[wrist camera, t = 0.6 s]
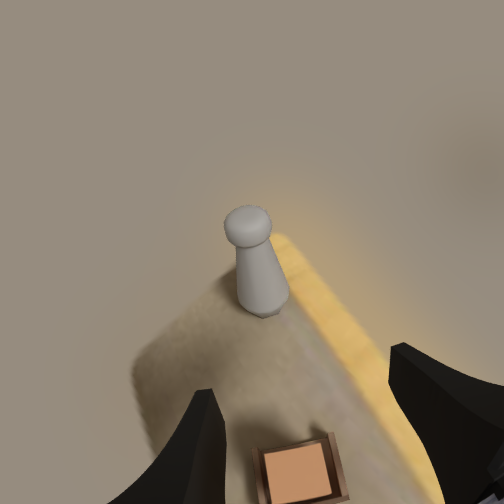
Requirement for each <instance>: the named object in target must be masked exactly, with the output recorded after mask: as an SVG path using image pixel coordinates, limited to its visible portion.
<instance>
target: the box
mask: <svg viewBox="0 0 504 504" xmlns="http://www.w3.org/2000/svg"><path fill="white" fill-rule="evenodd" d="M318 443H321V447H322V451H323V456H324V460H325V465H326V469H327V474H328V478H329V483H330V488H331V492H332V493H331V494H329V495H327V496H322V497H318V498H313V499H308V500H303V501H298V502H293V503H287V504H336V503H340V502H344V501H347V500H350V499H349V495H348V490H347V486H346V481H345V477H344V473H343V469H342V464H341V460H340V456H339V452H338V448H337V444H336V439H335V435H334V432H330V433H328V434H327V437H326V438H322V439H318V440H314V441H309V442H305V443H300V444H295V445H290V446H285V447H280V448H274V449H268V450H262V451H260V450H259V449H258V448H257V447H255V448H251V450H252V457H253V464H254V471H255V478H256V485H257V492H258V498H259V504H272V500H271V494H270V488H269V481H268V475H267V469H266V462H265V456H264V454H268V453H274V452H280V451H285V450H290V449H295V448H300V447H305V446H309V445H314V444H318Z"/></svg>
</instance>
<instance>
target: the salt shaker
mask: <svg viewBox="0 0 504 504" xmlns="http://www.w3.org/2000/svg"><path fill="white" fill-rule="evenodd" d="M224 229H225V233H226V236H227V239H228V241H229V242H230V243H232V244H233V245H234V246H236V272H237V295H238V299H239V303H240V304H241V305H242V306H243V307H244V308H245V309H246V310H247V311H249V312H251V313H253V314H255V315H257V316H259V317H261V318H263V319H264V318H267V317H270V316H273V315H277V314H279V312H280V310H281V308H282V306H283V305H284V304H285V302H286V301H287V299H288V294H289V285H288V282H287V280H286V278H285V275H284V273H283V270H282V268H281V266H280V263H279V261H278V259H277V256H276V254H275V251H274V249H273V247H272V244H271V242H270V240H269V237H270V234H271V230H272V222H271V219H270V217H269V215H268V213H267V211H266V210H264V209H263V208H261V207H259V206H255V205H246V206H241V207H239V208H236V209H234V210H233V211H232V212H231V213H229V214H228V215H227V217H226V219H225V221H224Z"/></svg>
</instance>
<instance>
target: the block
mask: <svg viewBox="0 0 504 504" xmlns="http://www.w3.org/2000/svg"><path fill="white" fill-rule="evenodd" d="M264 456H265V462H266V469H267V475H268V481H269V488H270V494H271V500H272V504H287V503H293V502H298V501H303V500H308V499H313V498H318V497H322V496H327V495H329V494H331V493H332V492H331V488H330V483H329V478H328V474H327V469H326V465H325V460H324V456H323V451H322V447H321V443H318V444H314V445H309V446H305V447H300V448H295V449H290V450H285V451H280V452H274V453H268V454H264Z"/></svg>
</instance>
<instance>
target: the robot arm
mask: <svg viewBox="0 0 504 504" xmlns="http://www.w3.org/2000/svg"><path fill="white" fill-rule="evenodd" d="M390 354H391V355H390V367H389V380H388V383H389V386H390V388H391V390H392V393H393V395H394V397H395V399H396V401H397V403H398V405H399V406H400V408H401V409H402V411H403V413H404V414H405V416H406V417H407V419H408V421H409V422H410V424H411V425H412V427H413V428H414V430H415V432H416V433H417V435H418V436H419V438H420V440H421V442H422V443H423V445H424V447H425V449H426V452H427V454H428V456H429V459H430V461H431V463H432V466H433V468H434V471H435V473H436V476H437V479H438V481H439V484H440V487H441V490H442V494H443V497H444V500H445V504H504V386H501V385H497V384H492V383H489V382H485V381H482V380H479V379H476V378H473V377H470V376H468V375H466V374H463V373H461V372H459V371H457V370H454V369H452V368H450V367H448V366H446V365H444V364H442V363H440V362H438V361H437V360H435V359H433V358H431V357H429V356H428V355H426V354H424V353H422V352H421V351H419V350H417V349H415V348H414V347H412V346H410V345H408V344H406V343H404V342H403V343H400V344H397V345H394V346H391V353H390ZM226 447H227V442H226V430H225V421H224V419H223V416H222V414H221V411H220V409H219V406H218V404H217V401H216V398H215V396H214V393H213V391H212V388H211V389H204V390H197V391H196V392H195V393H194V396H193V398H192V400H191V402H190V404H189V406H188V408H187V410H186V412H185V414H184V416H183V418H182V419H181V421H180V423H179V425H178V427H177V428H176V430H175V432H174V433H173V435H172V436H171V438H170V440H169V441H168V443H167V444H166V446H165V447H164V449H163V450H162V451H161V453H160V454H159V455H158V457H157V458H156V459H155V460H154V462H153V463H152V464H151V465H150V466H149V468H148V469H147V470H146V471H145V472H144V473H143V474H142V475H141V476H140V477H139V478H138V479H137V480H136V481H135V482H134V483H133V484H132V485H131V486H130V487H128V488H127V489H126V490H125V491H124V492H123V493H121V494H120V495H119V496H118V497H116V498H115V499H114V500H112V501H111V502H109V503H108V504H225V471H226Z"/></svg>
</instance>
